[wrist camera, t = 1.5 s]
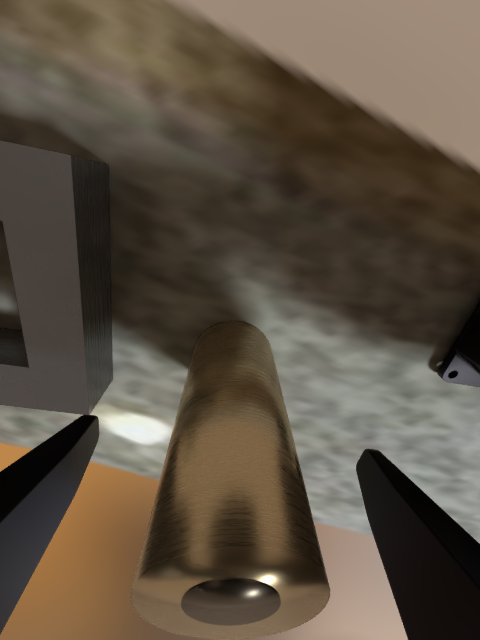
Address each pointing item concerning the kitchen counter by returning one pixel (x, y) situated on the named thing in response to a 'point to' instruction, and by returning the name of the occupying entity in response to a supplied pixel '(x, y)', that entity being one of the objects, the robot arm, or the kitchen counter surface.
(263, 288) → the kitchen counter surface
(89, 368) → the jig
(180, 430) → the bushing
